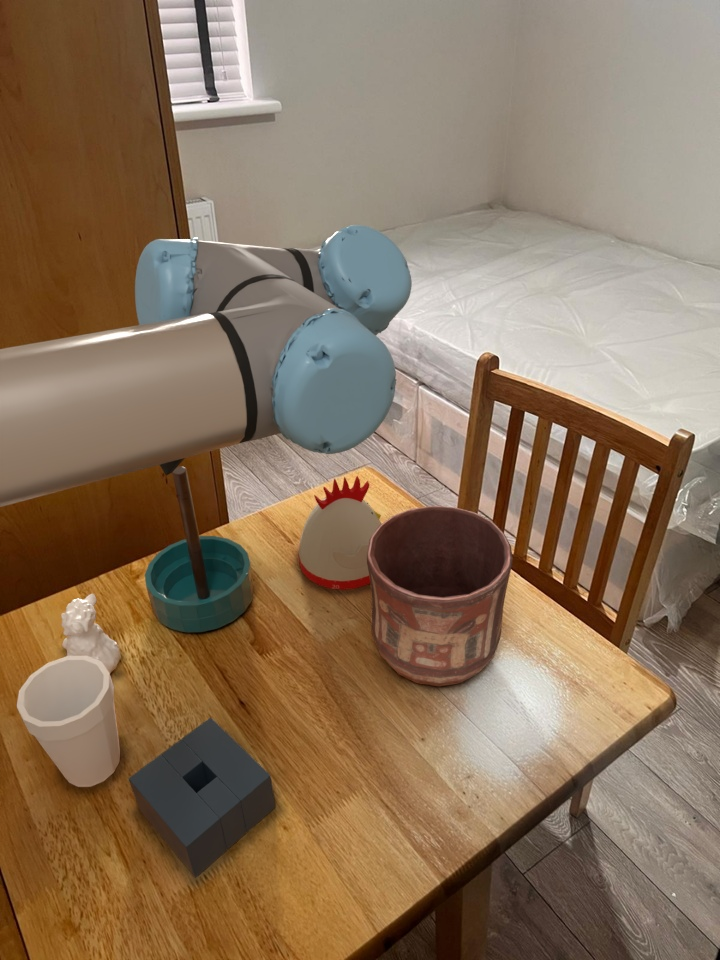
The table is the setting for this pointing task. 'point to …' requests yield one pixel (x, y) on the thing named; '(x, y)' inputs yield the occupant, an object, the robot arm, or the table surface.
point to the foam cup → (73, 717)
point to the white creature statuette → (88, 634)
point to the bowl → (177, 588)
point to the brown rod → (191, 531)
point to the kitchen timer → (339, 538)
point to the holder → (203, 795)
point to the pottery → (438, 592)
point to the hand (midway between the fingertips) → (213, 439)
